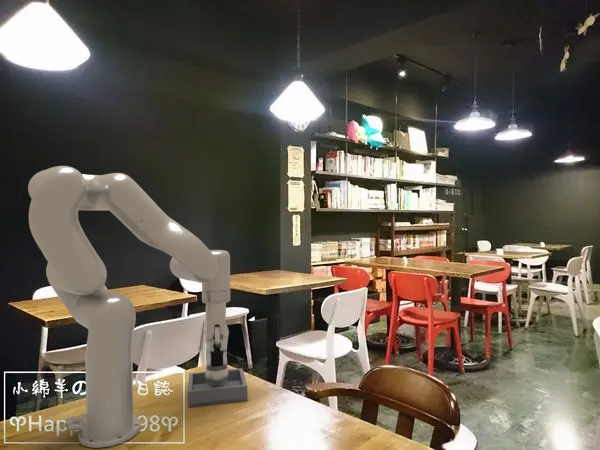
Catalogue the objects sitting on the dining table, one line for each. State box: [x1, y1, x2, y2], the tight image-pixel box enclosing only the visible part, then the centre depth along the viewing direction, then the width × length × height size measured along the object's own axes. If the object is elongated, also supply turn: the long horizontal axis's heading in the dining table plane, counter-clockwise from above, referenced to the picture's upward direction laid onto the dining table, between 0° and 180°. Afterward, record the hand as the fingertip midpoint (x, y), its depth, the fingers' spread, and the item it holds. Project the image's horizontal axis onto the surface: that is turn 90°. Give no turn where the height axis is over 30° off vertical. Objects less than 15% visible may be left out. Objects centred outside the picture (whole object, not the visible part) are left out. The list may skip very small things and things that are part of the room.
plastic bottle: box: [204, 324, 230, 387], centre depth 112 cm, size 6×7×20 cm
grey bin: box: [187, 368, 248, 408], centre depth 112 cm, size 15×13×4 cm
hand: (216, 361), depth 112 cm, fingers closed on plastic bottle, 5 cm apart
